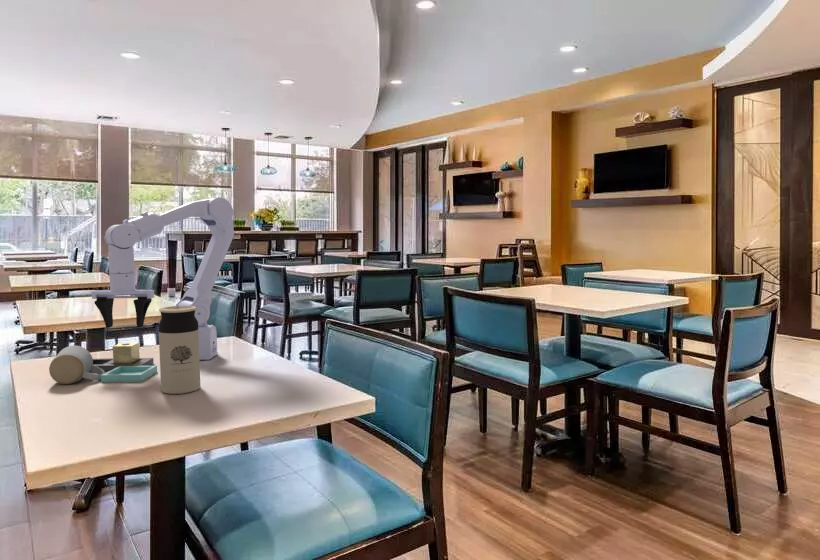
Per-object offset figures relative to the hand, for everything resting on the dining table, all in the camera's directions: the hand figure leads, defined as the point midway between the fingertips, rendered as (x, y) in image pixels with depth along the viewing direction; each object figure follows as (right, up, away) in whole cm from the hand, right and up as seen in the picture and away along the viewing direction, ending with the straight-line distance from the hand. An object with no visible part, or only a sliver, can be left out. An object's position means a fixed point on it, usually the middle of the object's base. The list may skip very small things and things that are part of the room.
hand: (124, 326), depth 145 cm
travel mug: (+22, -12, -19) cm, 32 cm away
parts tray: (+5, -11, -8) cm, 15 cm away
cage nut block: (0, -10, +1) cm, 10 cm away
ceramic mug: (-5, -12, -11) cm, 17 cm away
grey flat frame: (-4, -10, +1) cm, 11 cm away
